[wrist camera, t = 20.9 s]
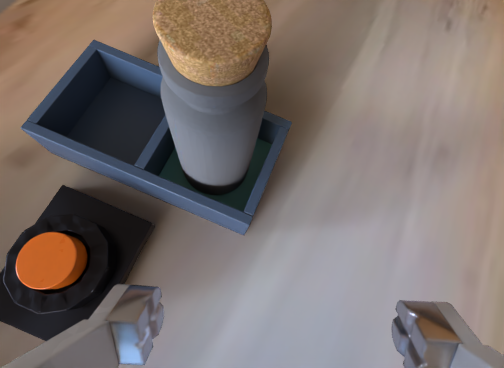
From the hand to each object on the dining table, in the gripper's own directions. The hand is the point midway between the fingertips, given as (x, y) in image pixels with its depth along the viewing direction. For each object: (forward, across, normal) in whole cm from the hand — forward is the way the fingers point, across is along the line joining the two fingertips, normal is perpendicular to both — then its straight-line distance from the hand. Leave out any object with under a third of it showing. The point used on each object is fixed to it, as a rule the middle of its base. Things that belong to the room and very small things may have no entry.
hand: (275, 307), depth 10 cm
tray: (+18, +10, -1) cm, 20 cm away
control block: (+10, +15, +6) cm, 19 cm away
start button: (+8, +15, +5) cm, 17 cm away
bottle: (+16, +5, 0) cm, 17 cm away
